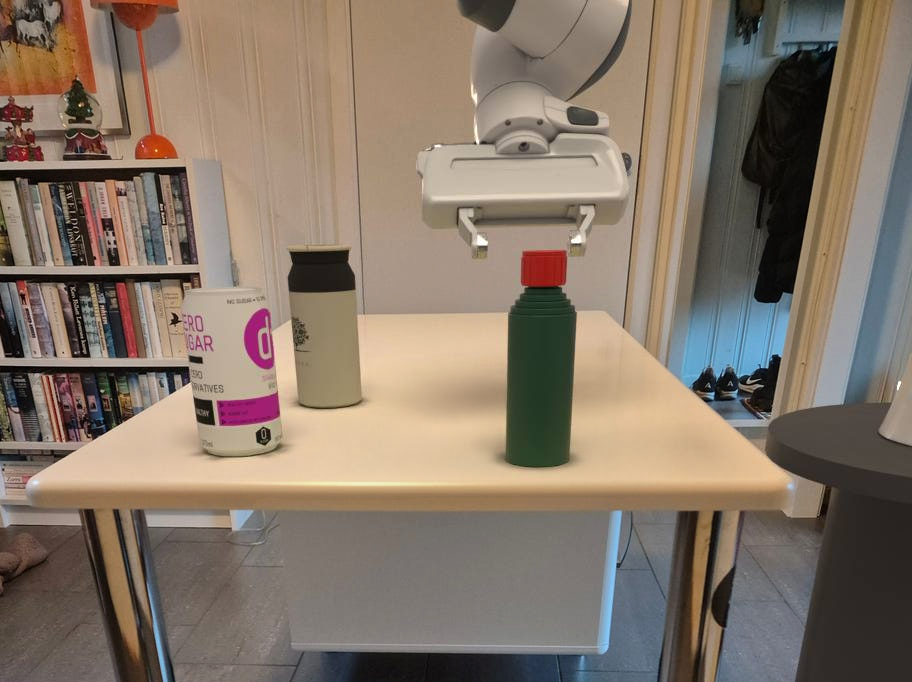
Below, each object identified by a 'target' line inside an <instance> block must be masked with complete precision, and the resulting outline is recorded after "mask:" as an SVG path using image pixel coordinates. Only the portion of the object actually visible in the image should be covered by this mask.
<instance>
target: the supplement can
mask: <svg viewBox="0 0 912 682" xmlns="http://www.w3.org/2000/svg"><path fill="white" fill-rule="evenodd" d="M183 297H184V298H183V299H182V302H181V306H180V313H181V315H180V316H181V322H182V328H183V329H182V330H183V336H184V342H185V349H186V356H187V364H188V369H189V370H188V371H189V378H190V384H191V392H192V398H193V406H194V413H195V420H196V426H197V434H198V440H199V445H200V447H202V448H204V449H205V450H206V451H207V453H208V454H210V455H213V456H219V457H220V456H221V457H246V456H247V457H248V456H256V455H260V454H265V453H268V452H271V451H273V450H275V449H277V447H278V445H279V444H280V443H281V442H282V440H283V429H282V428H283V427H282V418H281V408H280V397H279V387H278V378H277V368H276V358H275V357H276V356H275V347H274V336H273V327H272V326H273V325H272V317H271V307H270V303H269V301H268V300H267V298H266V297H265V295H264V293H263V292H262V287H261V286H248V285H247V286H244V285H243V286H242V285H241V286H239V285H238V286H236V285H235V286H213V287H212V286H211V287H198V288H197V287H196V288H189V289H186V290H184V296H183Z"/></svg>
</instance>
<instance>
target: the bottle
mask: <svg viewBox="0 0 912 682" xmlns="http://www.w3.org/2000/svg"><path fill="white" fill-rule="evenodd" d="M567 296H568V295H567V292H563V287H562V286H550V287H529V286H524V287H523V292H522V293H519V298H518V299H515V300H514V304H513V305H511V306H510V311H509V312H508V313H507V349H506V352H507V353H506V354H507V355H506V357H507V358H506V403H505V404H506V406H505V409H506V410H505V460H506V461H507V462H508V463H510V464H513V465H516V466H521V467H531V468H547V467H555V466H559V465H564V464H566V463H568V462H569V461H570V457H571V455H570V454H571V439H572V419H573V418H572V417H573V399H574V398H573V397H574V380H575V378H574V377H575V362H576V361H575V360H576V359H575V358H576V342H577V341H576V339H577V320H578V312H577V311H576V305H574V304H572V300H571V299H570V298H567Z"/></svg>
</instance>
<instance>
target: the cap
mask: <svg viewBox="0 0 912 682" xmlns="http://www.w3.org/2000/svg"><path fill="white" fill-rule="evenodd" d="M567 254H568V249H567V250H566V249H534V250H523V251H521V255H522V256H521V257H520V258H521V259H520V284H521V287H528V286H529V287H550V286H558V287H562V286H563V287H564V286H565V285H566V283H567V273H568V271H567V269H568V256H567Z"/></svg>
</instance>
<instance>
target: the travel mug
mask: <svg viewBox="0 0 912 682" xmlns="http://www.w3.org/2000/svg"><path fill="white" fill-rule="evenodd" d="M351 249H352V245H351V244H343V243H341V244H340V243H339V244H334V243H333V244H332V243H331V244H303V245H302V244H301V245H288V246H287V247H286V251H288V252H289V255H290V261H291V263H292V264H291V267H290V269H289V272H288V275H287V289H288V299H289V310H290V321H291V332H292V345H293V354H294V366H295V367H294V368H295V377H296V388H297V399H298V403H300V404H302V405H303V406H306V407H309V408H313V409H314V408H315V409H319V408H320V409H334V408H343V407H349V406H352V405H353V406H354V405H356V404H358V403H359V402H360V401H362V400H363V392H362V376H361V357H360V342H359V341H360V340H359V339H360V338H359V322H358V305H357V304H358V303H357V287H356V284H357V283H356V274H355V272H354V271H353V269H352V267H351V265H350V263H349V260H350V251H351Z"/></svg>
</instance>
